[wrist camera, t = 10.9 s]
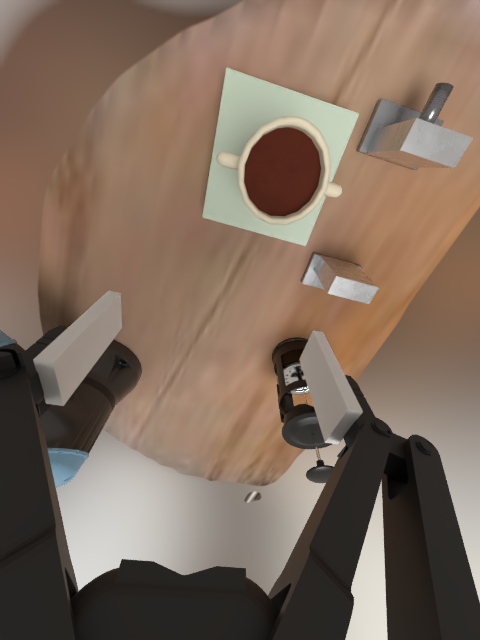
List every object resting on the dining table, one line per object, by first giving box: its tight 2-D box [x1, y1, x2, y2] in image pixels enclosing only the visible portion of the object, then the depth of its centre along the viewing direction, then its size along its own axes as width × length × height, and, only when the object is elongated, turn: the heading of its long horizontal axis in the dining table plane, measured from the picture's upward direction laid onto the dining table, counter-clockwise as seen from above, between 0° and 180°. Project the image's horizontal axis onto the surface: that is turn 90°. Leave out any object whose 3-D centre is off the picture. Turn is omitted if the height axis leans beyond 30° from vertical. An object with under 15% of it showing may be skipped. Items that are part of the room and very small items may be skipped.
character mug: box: [216, 116, 342, 225], centre depth 24 cm, size 11×7×13 cm, turn 76°
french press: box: [272, 338, 334, 483], centre depth 40 cm, size 12×9×23 cm
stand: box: [202, 67, 359, 246], centre depth 31 cm, size 15×15×4 cm
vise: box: [301, 83, 473, 304], centre depth 31 cm, size 8×25×9 cm, turn 166°
